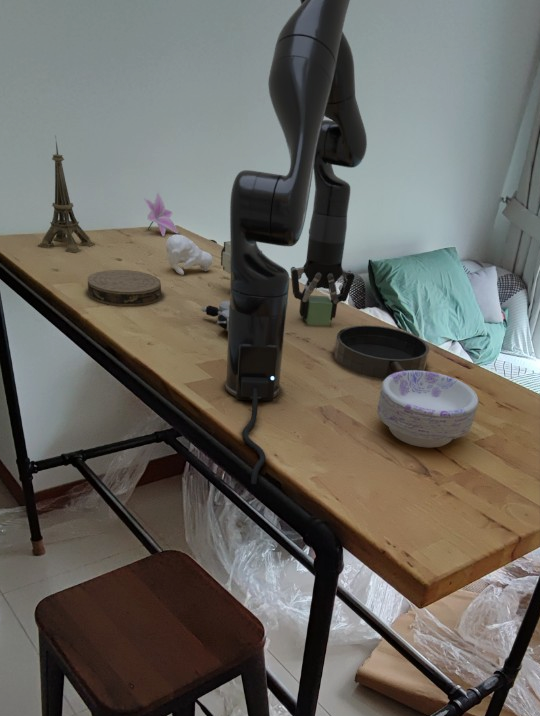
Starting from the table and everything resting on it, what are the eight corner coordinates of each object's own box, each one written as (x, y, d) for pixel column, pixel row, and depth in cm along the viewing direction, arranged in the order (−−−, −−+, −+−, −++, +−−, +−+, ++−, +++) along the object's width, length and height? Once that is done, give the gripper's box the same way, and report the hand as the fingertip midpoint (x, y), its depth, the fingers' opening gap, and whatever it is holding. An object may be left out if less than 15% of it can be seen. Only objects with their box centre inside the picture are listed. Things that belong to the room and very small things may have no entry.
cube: (329, 326, 142) (332, 303, 139) (307, 325, 141) (309, 302, 138) (325, 318, 146) (328, 296, 143) (303, 317, 145) (305, 294, 142)
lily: (141, 240, 187) (155, 211, 181) (126, 214, 191) (140, 185, 185) (175, 251, 195) (189, 223, 190) (160, 225, 199) (174, 198, 194)
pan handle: (412, 390, 114) (414, 380, 113) (401, 390, 113) (403, 379, 112) (398, 370, 121) (400, 359, 120) (387, 369, 120) (390, 359, 119)
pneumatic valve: (235, 286, 158) (238, 234, 151) (262, 301, 151) (266, 247, 143) (216, 288, 155) (217, 235, 148) (242, 304, 148) (245, 248, 141)
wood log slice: (110, 310, 136) (109, 295, 134) (75, 287, 145) (74, 274, 143) (174, 300, 145) (174, 286, 143) (138, 280, 154) (137, 267, 152)
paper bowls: (404, 463, 97) (415, 415, 92) (357, 417, 108) (365, 372, 103) (485, 451, 103) (499, 406, 98) (433, 409, 113) (444, 366, 109)
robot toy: (197, 321, 138) (225, 342, 127) (197, 299, 136) (226, 319, 125) (249, 317, 143) (280, 337, 133) (250, 296, 141) (282, 314, 130)
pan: (436, 382, 123) (441, 362, 121) (344, 378, 120) (348, 358, 118) (409, 346, 137) (413, 327, 135) (326, 342, 134) (328, 323, 132)
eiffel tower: (94, 244, 175) (86, 136, 160) (75, 252, 167) (64, 140, 151) (58, 238, 176) (47, 130, 161) (38, 246, 168) (23, 134, 153)
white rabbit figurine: (164, 231, 158) (209, 235, 164) (161, 267, 163) (206, 270, 169) (172, 237, 154) (219, 242, 160) (169, 274, 159) (215, 277, 165)
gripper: (295, 238, 128) (287, 323, 139) (364, 243, 131) (351, 326, 141) (290, 229, 134) (282, 311, 145) (356, 234, 137) (344, 314, 147)
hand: (317, 318), depth 143 cm, fingers open, 5 cm apart
